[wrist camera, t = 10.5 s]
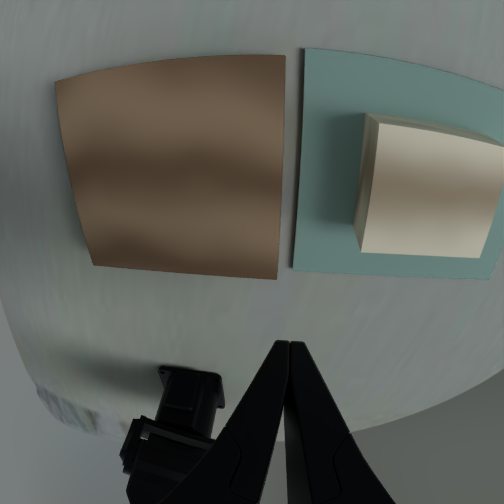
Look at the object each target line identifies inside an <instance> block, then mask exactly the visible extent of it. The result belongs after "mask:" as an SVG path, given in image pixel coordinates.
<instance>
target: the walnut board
mask: <svg viewBox="0 0 504 504" xmlns="http://www.w3.org/2000/svg"><path fill="white" fill-rule="evenodd" d="M285 58H286V56H285V55H221V56H203V57H190V58H179V59H169V60H161V61H153V62H146V63H139V64H133V65H127V66H121V67H116V68H110V69H105V70H101V71H96V72H91V73H87V74H83V75H79V76H74V77H71V78H67V79H63V80H59V81H56V82H55V89H56V98H57V107H58V114H59V121H60V128H61V134H62V140H63V146H64V151H65V157H66V162H67V167H68V172H69V176H70V181H71V185H72V190H73V194H74V198H75V202H76V206H77V210H78V214H79V218H80V222H81V226H82V229H83V233H84V236H85V240H86V243H87V247H88V250H89V253H90V256H91V260H92V263H93V265H96V266H107V267H117V268H128V269H139V270H151V271H163V272H175V273H187V274H200V275H214V276H227V277H242V278H257V279H272V280H277V272H278V257H279V238H280V218H281V195H282V171H283V143H284V108H285Z"/></svg>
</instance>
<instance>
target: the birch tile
mask: <svg viewBox="0 0 504 504" xmlns="http://www.w3.org/2000/svg"><path fill="white" fill-rule="evenodd" d="M503 182H504V145H503V144H501V143H500V142H498V141H496V140H494V139H493V138H491V137H489V136H487V135H485V134H482V133H478V132H474V131H470V130H466V129H461V128H457V127H452V126H447V125H442V124H437V123H432V122H427V121H421V120H415V119H409V118H403V117H396V116H389V115H382V114H374V113H365V122H364V134H363V145H362V155H361V164H360V173H359V182H358V190H357V197H356V205H355V212H354V219H353V228H354V232H355V235H356V238H357V241H358V245H359V248H360V251H361V252H363V253H384V254H404V255H424V256H444V257H464V258H480V255H481V253H482V250H483V247H484V244H485V242H486V239H487V236H488V233H489V230H490V227H491V224H492V221H493V218H494V214H495V211H496V208H497V204H498V201H499V197H500V194H501V190H502V186H503Z"/></svg>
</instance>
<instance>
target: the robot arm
mask: <svg viewBox="0 0 504 504" xmlns="http://www.w3.org/2000/svg"><path fill="white" fill-rule="evenodd" d="M158 373H159V375H160V378H161V381H162V383H163V386H164V388H165V389H164V392H163V395H162V398H161V401H160V405H159V408H158V411H157V414H156V417H155V420H151V419H149V418H147V417H146V416H143V415H141V417H140V419H133V421H132V423H131V426H130V429H129V432H128V434H127V437H126V439H125V442H124V444H123V446H122V449H121V451H120V457H121V459H122V461H123V466H124V469H123V473H125V474H128V475H130V478H129V481H128V485H127V489H126V492H127V496H128V499H129V502H130V504H260V500H261V496H262V493H263V489H264V485H265V481H266V477H267V474H268V470H269V466H270V462H271V458H272V454H273V450H274V445H275V442H276V438H277V433H278V429H279V425H280V420H281V416H282V411H283V406H284V429H285V449H286V472H287V497H288V504H396V503H395V502H394V501H393V499H392V498H391V497H390V495H389V494H388V492H387V491H386V489H385V488H384V487H383V485H382V484H381V482H380V481H379V480H378V478H377V477H376V475H375V474H374V472H373V471H372V470H371V468H370V466H369V465H368V463H367V462H366V460H365V459H364V457H363V455H362V453H361V452H360V450H359V448H358V446H357V444H356V442H355V440H354V439H353V436H352V434H351V433H349V432H350V431H349V429H348V427H347V425H346V423H345V421H344V419H343V417H342V415H341V413H340V411H339V409H338V407H337V405H336V403H335V401H334V399H333V397H332V395H331V393H330V391H329V389H328V387H327V385H326V383H325V382H324V380H323V378H322V376H321V374H320V372H319V370H318V368H317V366H316V364H315V362H314V360H313V358H312V356H311V354H310V352H309V350H308V348H307V346H306V344H305V343H304V342H301V341H291V342H289V341H286V340H276V341H275V342H274V344H273V346H272V348H271V350H270V351H269V353H268V355H267V357H266V358H265V360H264V362H263V363H262V365H261V367H260V369H259V370H258V372H257V374H256V375H255V377H254V379H253V381H252V382H251V384H250V386H249V387H248V389H247V391H246V392H245V394H244V396H243V397H242V399H241V401H240V402H239V404H238V405H237V407H236V409H235V410H234V412H233V414H232V415H231V417H230V418H229V420H228V422H227V423H226V425H225V426H226V427H224V428H223V429H222V431H221V433H220V434H219V436H218V437H217V439H216V440H215V439H211V433H212V429H213V424H214V419H215V414H216V409H217V408H220V409H223V408H224V407H225V399H224V392H223V385H222V378H221V376H220V375H217V374H210V373H202V372H194V371H187V370H180V369H174V368H167V367H159V370H158ZM141 437H144V438H146V439H148V440H145V439H141Z"/></svg>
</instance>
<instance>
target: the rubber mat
mask: <svg viewBox="0 0 504 504" xmlns="http://www.w3.org/2000/svg"><path fill="white" fill-rule="evenodd" d="M365 113H374V114H382V115H389V116H396V117H403V118H409V119H415V120H421V121H427V122H432V123H437V124H442V125H447V126H452V127H457V128H461V129H466V130H470V131H474V132H478V133H482V134H485V135H487V136H489V137H491V138H493V139H494V140H496V141H498V142H500V143H501V144H503V145H504V91H503V90H500V89H497V88H495V87H492V86H489V85H486V84H483V83H480V82H478V81H474V80H471V79H468V78H465V77H462V76H459V75H455V74H452V73H448V72H445V71H441V70H437V69H433V68H429V67H425V66H421V65H417V64H413V63H408V62H403V61H398V60H393V59H388V58H382V57H377V56H370V55H364V54H357V53H350V52H341V51H332V50H322V49H310V48H305V65H304V97H303V122H302V143H301V161H300V178H299V193H298V208H297V221H296V234H295V246H294V258H293V271H306V272H324V273H342V274H361V275H381V276H402V277H424V278H448V279H475V280H489V278H490V276H491V274H492V272H493V269H494V267H495V265H496V262H497V260H498V258H499V255H500V253H501V250H502V248H503V245H504V182H503V186H502V190H501V194H500V197H499V201H498V204H497V208H496V211H495V214H494V218H493V221H492V224H491V227H490V230H489V233H488V236H487V239H486V242H485V244H484V247H483V250H482V253H481V255H480V258H464V257H444V256H424V255H404V254H384V253H363V252H361V251H360V248H359V245H358V241H357V238H356V235H355V232H354V228H353V219H354V212H355V205H356V197H357V190H358V182H359V173H360V164H361V155H362V145H363V134H364V122H365Z"/></svg>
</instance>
